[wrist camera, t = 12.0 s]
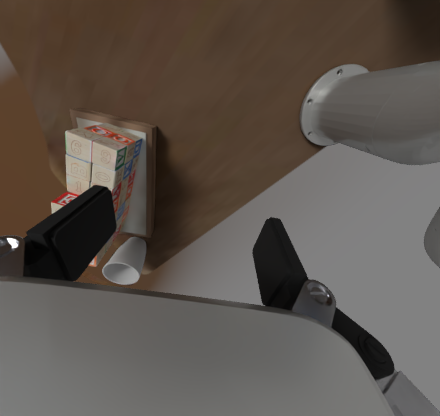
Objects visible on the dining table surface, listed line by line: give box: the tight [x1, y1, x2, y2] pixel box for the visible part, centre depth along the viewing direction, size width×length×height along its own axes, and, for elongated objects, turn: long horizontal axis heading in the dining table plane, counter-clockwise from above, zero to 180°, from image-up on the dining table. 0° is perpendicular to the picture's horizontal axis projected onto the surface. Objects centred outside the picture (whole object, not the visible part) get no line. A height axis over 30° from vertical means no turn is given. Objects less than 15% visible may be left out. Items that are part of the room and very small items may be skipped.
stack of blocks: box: [51, 123, 142, 267], centre depth 29 cm, size 21×6×12 cm, turn 155°
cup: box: [102, 237, 146, 284], centre depth 44 cm, size 8×8×10 cm
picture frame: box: [69, 108, 157, 238], centre depth 36 cm, size 13×26×3 cm, turn 167°
